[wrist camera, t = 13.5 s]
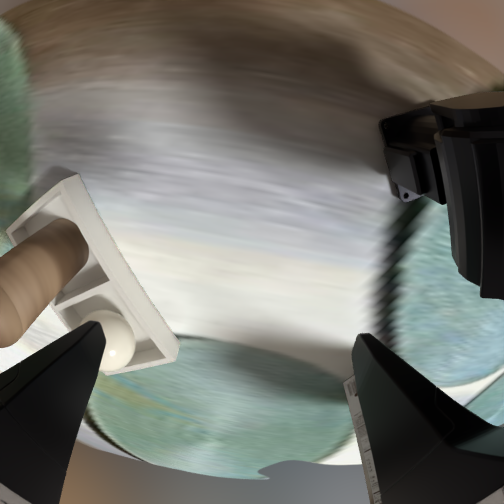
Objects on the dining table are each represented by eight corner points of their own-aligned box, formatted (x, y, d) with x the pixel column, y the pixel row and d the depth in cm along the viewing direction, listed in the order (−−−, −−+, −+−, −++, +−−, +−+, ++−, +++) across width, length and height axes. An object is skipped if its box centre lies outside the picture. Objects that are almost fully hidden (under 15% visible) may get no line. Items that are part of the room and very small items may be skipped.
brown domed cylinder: (69, 208, 20) (-38, 283, 9) (98, 258, 22) (14, 359, 11) (38, 233, 21) (-54, 306, 10) (65, 278, 23) (-12, 367, 11)
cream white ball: (120, 290, 23) (93, 330, 18) (154, 337, 25) (137, 380, 20) (81, 306, 24) (54, 342, 19) (113, 348, 26) (94, 387, 21)
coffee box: (417, 378, 29) (462, 482, 15) (378, 405, 31) (408, 509, 17) (385, 349, 27) (438, 482, 12) (338, 383, 29) (368, 513, 14)
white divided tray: (78, 173, 19) (61, 180, 17) (180, 342, 26) (175, 361, 24) (21, 221, 21) (5, 230, 19) (114, 359, 28) (106, 375, 26)
